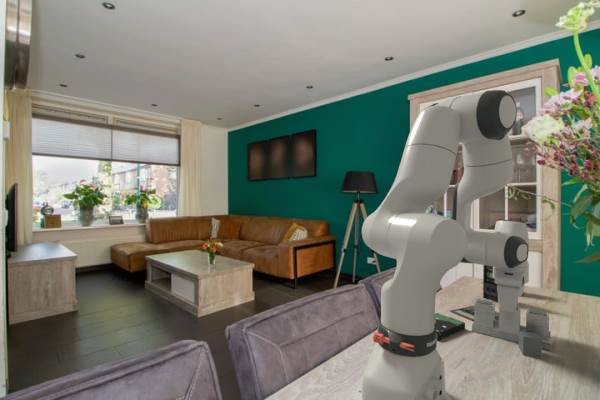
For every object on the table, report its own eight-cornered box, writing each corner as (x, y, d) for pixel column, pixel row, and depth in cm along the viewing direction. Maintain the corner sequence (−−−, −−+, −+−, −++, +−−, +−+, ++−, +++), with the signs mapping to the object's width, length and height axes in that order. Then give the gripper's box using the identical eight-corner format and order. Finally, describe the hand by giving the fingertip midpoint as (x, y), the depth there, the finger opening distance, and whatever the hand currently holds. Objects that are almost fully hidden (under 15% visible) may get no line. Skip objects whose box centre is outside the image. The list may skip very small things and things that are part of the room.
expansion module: (519, 335, 87) (519, 310, 87) (498, 330, 90) (499, 306, 90) (520, 330, 90) (520, 306, 90) (500, 325, 93) (500, 302, 93)
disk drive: (437, 343, 87) (465, 330, 95) (437, 334, 87) (465, 322, 95) (407, 329, 96) (436, 319, 104) (407, 321, 96) (436, 311, 104)
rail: (550, 350, 82) (551, 317, 82) (472, 331, 94) (472, 302, 94) (550, 342, 87) (550, 310, 86) (475, 324, 98) (475, 297, 98)
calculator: (508, 315, 105) (479, 322, 99) (508, 318, 105) (479, 325, 99) (477, 304, 116) (449, 310, 110) (477, 306, 116) (449, 312, 110)
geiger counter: (478, 297, 125) (479, 261, 125) (486, 296, 127) (486, 260, 127) (503, 305, 115) (504, 267, 115) (511, 304, 117) (512, 266, 117)
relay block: (541, 358, 78) (541, 339, 78) (523, 355, 80) (523, 336, 80) (536, 351, 82) (536, 333, 82) (518, 348, 83) (519, 330, 83)
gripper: (500, 265, 100) (500, 307, 100) (493, 279, 84) (493, 328, 84) (524, 268, 96) (523, 311, 96) (521, 283, 80) (521, 334, 80)
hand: (509, 319), depth 90 cm, fingers open, 8 cm apart
